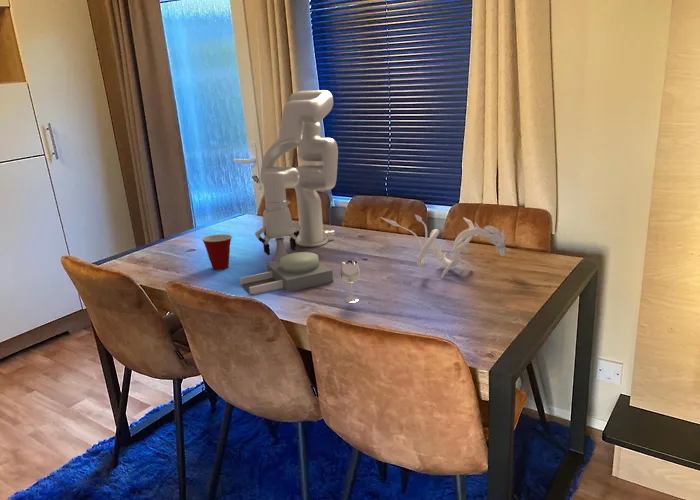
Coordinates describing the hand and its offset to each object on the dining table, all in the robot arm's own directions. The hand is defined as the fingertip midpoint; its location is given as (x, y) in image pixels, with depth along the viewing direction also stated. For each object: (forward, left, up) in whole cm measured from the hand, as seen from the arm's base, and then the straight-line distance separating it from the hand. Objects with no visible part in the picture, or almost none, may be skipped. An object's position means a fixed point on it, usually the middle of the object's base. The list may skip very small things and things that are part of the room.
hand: (280, 251), depth 210 cm
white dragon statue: (-41, +43, -5) cm, 60 cm away
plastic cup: (+20, -11, -5) cm, 23 cm away
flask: (0, 0, -5) cm, 5 cm away
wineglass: (-6, +45, -5) cm, 45 cm away
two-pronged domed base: (+5, +17, -5) cm, 18 cm away
